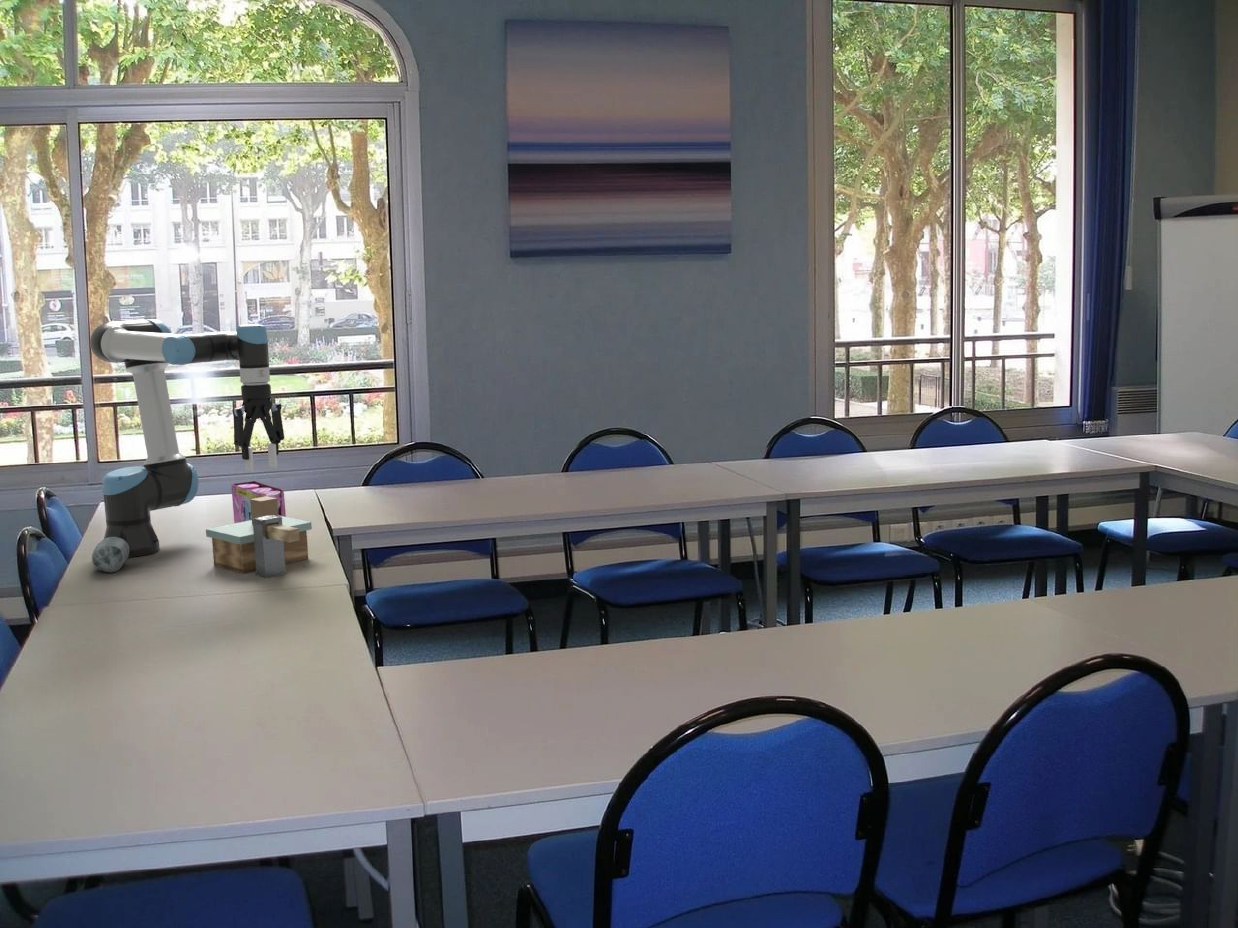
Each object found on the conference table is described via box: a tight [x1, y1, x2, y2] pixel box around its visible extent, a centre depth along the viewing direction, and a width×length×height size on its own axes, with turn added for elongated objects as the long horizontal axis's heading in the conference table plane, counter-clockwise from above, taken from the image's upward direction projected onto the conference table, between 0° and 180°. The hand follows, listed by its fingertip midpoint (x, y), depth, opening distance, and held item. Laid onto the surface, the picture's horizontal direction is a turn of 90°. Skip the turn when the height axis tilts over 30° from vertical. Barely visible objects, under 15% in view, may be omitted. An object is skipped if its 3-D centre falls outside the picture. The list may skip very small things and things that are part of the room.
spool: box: [91, 537, 130, 573], centre depth 328 cm, size 14×10×10 cm
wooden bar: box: [265, 523, 299, 542], centre depth 314 cm, size 15×3×3 cm, turn 50°
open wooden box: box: [211, 530, 309, 574], centre depth 332 cm, size 14×20×8 cm
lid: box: [205, 496, 313, 545], centre depth 330 cm, size 16×22×9 cm
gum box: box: [231, 480, 287, 524], centre depth 369 cm, size 24×8×14 cm, turn 38°
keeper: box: [253, 515, 286, 579], centre depth 317 cm, size 4×6×15 cm, turn 140°
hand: (261, 469), depth 330 cm, fingers open, 7 cm apart
